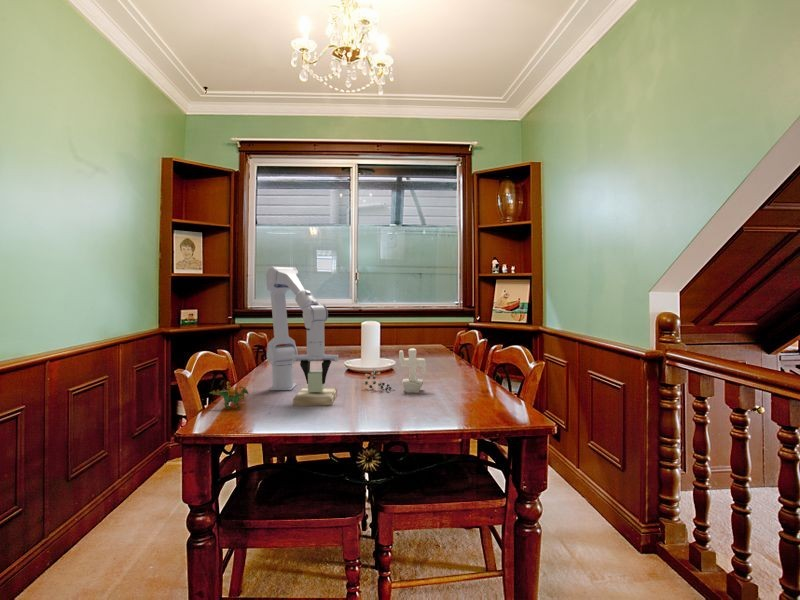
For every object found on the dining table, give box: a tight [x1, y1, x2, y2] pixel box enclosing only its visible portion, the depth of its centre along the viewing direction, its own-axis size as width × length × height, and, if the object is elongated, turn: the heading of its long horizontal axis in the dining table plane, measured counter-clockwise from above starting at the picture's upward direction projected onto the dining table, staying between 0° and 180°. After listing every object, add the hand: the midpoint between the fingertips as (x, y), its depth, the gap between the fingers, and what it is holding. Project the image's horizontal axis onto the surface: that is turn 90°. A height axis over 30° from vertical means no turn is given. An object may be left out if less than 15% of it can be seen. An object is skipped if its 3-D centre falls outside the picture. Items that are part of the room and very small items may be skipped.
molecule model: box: [361, 368, 396, 393], centre depth 161 cm, size 6×12×8 cm, turn 72°
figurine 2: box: [398, 347, 427, 394], centre depth 159 cm, size 7×9×15 cm
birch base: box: [292, 386, 338, 407], centre depth 148 cm, size 14×12×2 cm
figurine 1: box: [209, 381, 249, 410], centre depth 138 cm, size 3×12×8 cm, turn 90°
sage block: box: [307, 370, 325, 392], centre depth 147 cm, size 4×4×6 cm
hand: (316, 383), depth 148 cm, fingers closed on sage block, 4 cm apart
